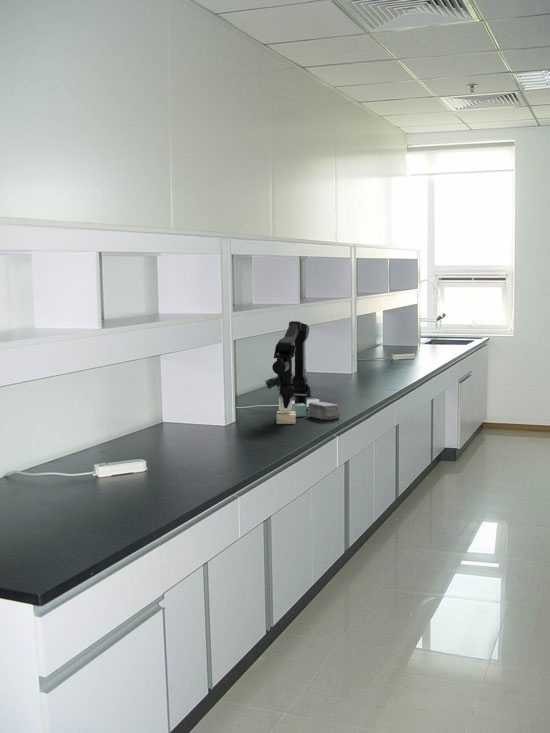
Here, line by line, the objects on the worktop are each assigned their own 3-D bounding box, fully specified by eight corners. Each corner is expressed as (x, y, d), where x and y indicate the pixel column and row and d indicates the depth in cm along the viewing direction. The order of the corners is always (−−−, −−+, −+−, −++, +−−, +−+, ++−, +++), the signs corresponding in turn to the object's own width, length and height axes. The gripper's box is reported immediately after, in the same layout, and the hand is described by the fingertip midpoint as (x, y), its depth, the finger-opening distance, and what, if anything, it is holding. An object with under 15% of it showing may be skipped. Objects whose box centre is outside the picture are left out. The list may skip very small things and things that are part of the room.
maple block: (277, 420, 350) (277, 411, 349) (295, 420, 350) (295, 411, 349) (276, 424, 342) (276, 414, 341) (295, 424, 342) (295, 415, 341)
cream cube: (278, 408, 348) (278, 397, 347) (290, 408, 348) (290, 396, 347) (279, 410, 343) (279, 399, 342) (291, 410, 343) (291, 399, 342)
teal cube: (291, 414, 361) (291, 403, 360) (302, 414, 362) (302, 403, 362) (295, 416, 356) (295, 405, 355) (306, 416, 358) (306, 405, 357)
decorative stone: (333, 422, 345) (343, 417, 354) (333, 406, 344) (343, 402, 353) (303, 419, 353) (313, 414, 361) (302, 404, 352) (313, 399, 360)
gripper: (265, 368, 352) (265, 403, 354) (267, 374, 333) (267, 411, 335) (290, 367, 352) (290, 403, 355) (294, 374, 334) (294, 411, 336)
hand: (285, 407), depth 345 cm, fingers closed on cream cube, 5 cm apart
